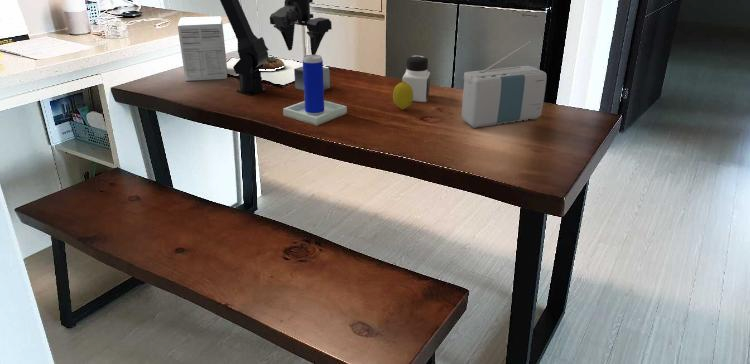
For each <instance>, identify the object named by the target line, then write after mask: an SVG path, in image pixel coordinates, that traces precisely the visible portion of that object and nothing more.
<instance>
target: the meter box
mask: <svg viewBox="0 0 750 364" xmlns="http://www.w3.org/2000/svg"><path fill="white" fill-rule="evenodd" d="M293 72H294V89H298V90H299V91H300V90H301V91H304V80H303V65H302V66H299V67H296V68H294V71H293ZM330 74H331V73H330V68H329V67H324V66H323V86H324V91H325V90H328V89H330V88H331V75H330Z"/></svg>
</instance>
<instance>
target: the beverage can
mask: <svg viewBox="0 0 750 364" xmlns="http://www.w3.org/2000/svg"><path fill="white" fill-rule="evenodd" d="M323 62H324V61H323V58H322V56H321V55H319V54H315V55H312V54H307V55H304V56H303V58H302V66H303V80H304V90H303V94H304V95H303V99H304V100H303V101H305V111H306V113H307V114H310V115H319V114H322V113H323V111H324V100H325V97H324V95H325V94H324V93H325V92H324V91H325V90H324V86H323V67H324V63H323Z"/></svg>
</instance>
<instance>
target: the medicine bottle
mask: <svg viewBox="0 0 750 364" xmlns="http://www.w3.org/2000/svg"><path fill="white" fill-rule="evenodd" d="M428 62H429V60H428V58H427V57H426V56H422V55H411V56H409V57H407V59H406V70H405V73H404V74H403V76H402V82H403V81H404V82H405V83H407V84H409V85H410V86H411V88H412V90H413V100H412V102H418V103H427V101H428V99H429V97H430V96H429V95H430V86H431V85H430V84H431V72H430V71H428V68H429V67H428V66H429V65H428Z"/></svg>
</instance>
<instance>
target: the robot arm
mask: <svg viewBox="0 0 750 364" xmlns="http://www.w3.org/2000/svg"><path fill="white" fill-rule="evenodd" d="M219 1H220V4H221V6H222V8H223V11H224V13H225V14H226V17H227V19H228V22H229V24H230V26H231V28H232V31H233V33H234V35H235V37H236V39H237V52H238V53H237V54H238V57H239V59H238V61H237V62H236V63H235V64H234V65H233V66H232V68H233V71H234V74H236V75H238V78H239V79H238V80H239V87H240V88H237V89H236V92H238V93H241V94H244V95H248V96H253V95H256V94H260V93H262V92H265V91H266V92H267V89H266V87H263V78H262V72H261V71H259V69H261V68H263V66H264V63H265V62H266V61H267V58H268V57H269V52H268V51H269V50H270V49H269V48H268V47H267V45H266V42H265V40H264V37H262V36H261V37H259V38H258V36H256V35H255V34H254V32H253V30H252V28H251V25H250V23H249V21H248V19H247V17H246V14H245V12H244V10H243V6H242V4H241V3H240V0H219ZM313 2H314V1H313V0H284V6H283V7H280V8H279V9H277V10H276V11H275V12H273V13H271V14H270V16H269V23H270V25H273V28H274V29H277V30H278V31H279V32H280V34H281V35H282V38H283V40H284V43H285V46H286V48H287V51H292V50H293V45H294V37H295V36H294V35H295V27H296V25H298V26H304V27H306V29H307V30H308V31H306V34H307V35H308V36H309V44H310V53H311V55H317V52H318V50H319V47H320V45H321V42H322V40H323V38H324V36H325V34H326V33H329V30H333V28H332V21H331V20H330V18H326V17H322V16H321V17H315V18H314V14H313V13H311V4H312V3H313Z"/></svg>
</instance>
